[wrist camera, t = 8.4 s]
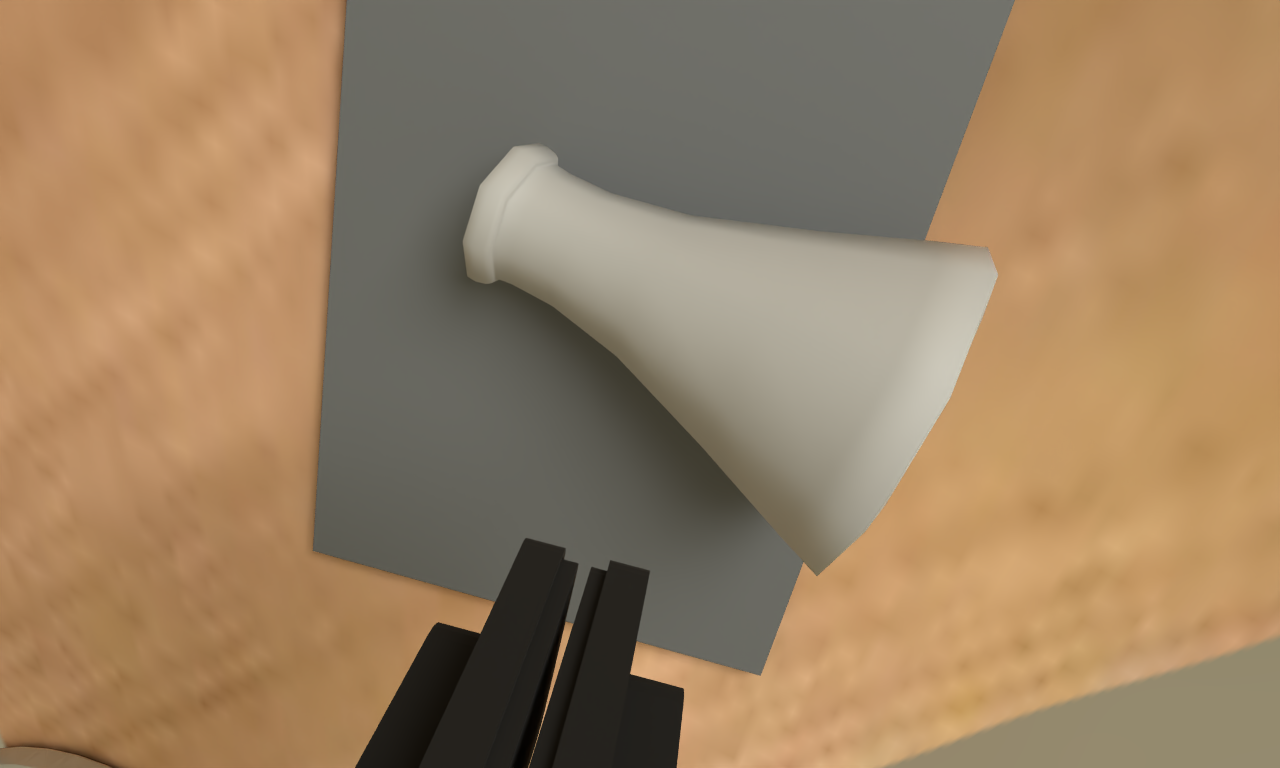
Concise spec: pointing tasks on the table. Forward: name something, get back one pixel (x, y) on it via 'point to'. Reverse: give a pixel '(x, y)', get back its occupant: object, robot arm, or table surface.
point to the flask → (750, 333)
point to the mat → (541, 335)
